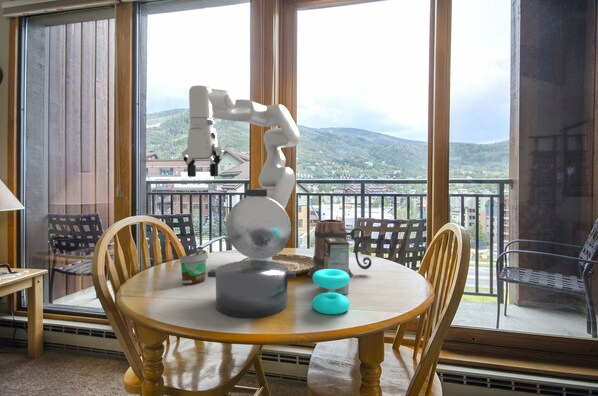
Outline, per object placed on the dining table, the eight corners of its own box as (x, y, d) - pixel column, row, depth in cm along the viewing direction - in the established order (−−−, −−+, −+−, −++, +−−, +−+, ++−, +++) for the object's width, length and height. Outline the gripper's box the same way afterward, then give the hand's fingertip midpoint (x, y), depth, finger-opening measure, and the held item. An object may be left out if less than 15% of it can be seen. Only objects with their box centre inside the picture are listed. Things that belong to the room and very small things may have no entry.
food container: (197, 287, 107) (196, 257, 106) (180, 286, 108) (179, 256, 108) (214, 277, 119) (214, 249, 119) (198, 276, 120) (198, 249, 120)
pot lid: (227, 258, 104) (230, 255, 106) (291, 259, 102) (291, 256, 105) (223, 189, 99) (226, 188, 101) (289, 190, 97) (290, 188, 100)
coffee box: (323, 285, 110) (323, 237, 109) (342, 285, 110) (343, 237, 109) (328, 294, 100) (328, 242, 100) (349, 294, 101) (349, 242, 100)
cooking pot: (220, 290, 104) (220, 259, 103) (298, 292, 102) (298, 260, 102) (196, 316, 84) (196, 278, 83) (292, 319, 82) (292, 280, 82)
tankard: (305, 279, 116) (306, 223, 115) (309, 267, 133) (309, 218, 132) (373, 282, 113) (374, 224, 112) (368, 269, 130) (369, 218, 129)
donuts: (310, 268, 94) (345, 267, 94) (310, 302, 94) (345, 301, 95) (315, 278, 84) (353, 277, 84) (314, 316, 84) (353, 315, 85)
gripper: (229, 124, 109) (230, 176, 110) (190, 128, 117) (191, 176, 118) (214, 121, 102) (215, 176, 103) (173, 125, 110) (175, 176, 111)
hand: (202, 176), depth 111 cm, fingers open, 9 cm apart
